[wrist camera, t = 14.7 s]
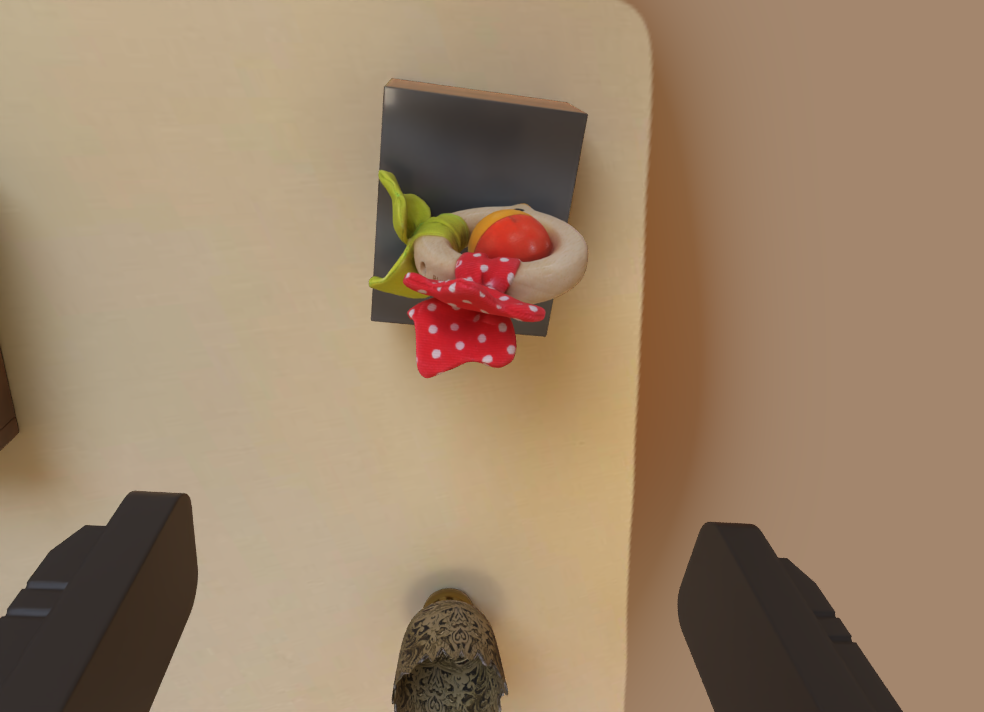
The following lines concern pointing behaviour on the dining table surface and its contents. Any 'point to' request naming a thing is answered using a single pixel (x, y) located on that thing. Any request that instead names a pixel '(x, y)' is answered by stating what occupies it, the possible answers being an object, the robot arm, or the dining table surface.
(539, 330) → the block
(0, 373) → the crate
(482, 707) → the cup
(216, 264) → the dining table surface
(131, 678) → the robot arm
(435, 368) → the teething ring toy
